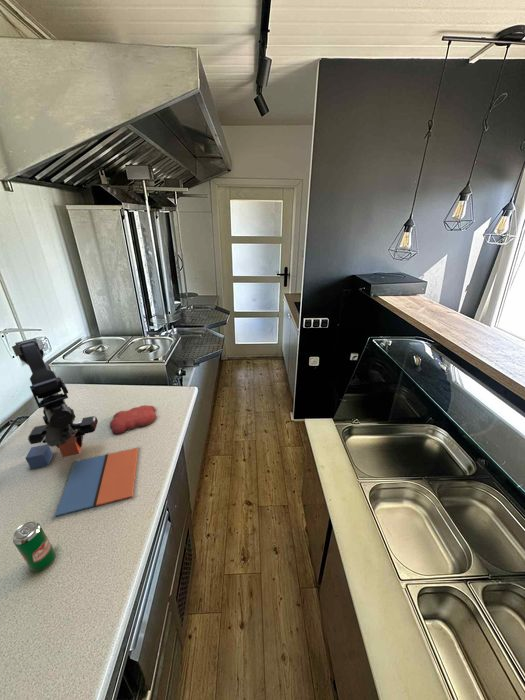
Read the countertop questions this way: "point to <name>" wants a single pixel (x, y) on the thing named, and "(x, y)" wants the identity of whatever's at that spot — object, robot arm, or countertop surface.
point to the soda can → (34, 545)
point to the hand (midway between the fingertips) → (72, 448)
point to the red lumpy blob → (132, 419)
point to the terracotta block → (70, 447)
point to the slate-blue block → (39, 456)
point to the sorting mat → (99, 481)
